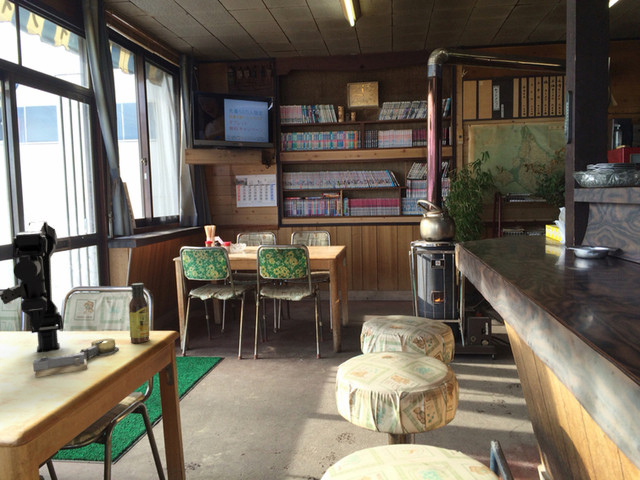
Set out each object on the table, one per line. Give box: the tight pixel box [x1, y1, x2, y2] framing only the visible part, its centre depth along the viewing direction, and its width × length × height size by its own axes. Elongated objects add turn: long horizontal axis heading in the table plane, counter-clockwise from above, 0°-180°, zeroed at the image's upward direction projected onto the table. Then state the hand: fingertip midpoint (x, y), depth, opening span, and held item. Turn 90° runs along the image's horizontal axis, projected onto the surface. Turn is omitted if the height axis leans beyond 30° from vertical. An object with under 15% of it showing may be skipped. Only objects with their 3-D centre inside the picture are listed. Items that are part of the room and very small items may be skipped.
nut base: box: [92, 346, 120, 357], centre depth 160 cm, size 9×9×1 cm
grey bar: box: [32, 352, 84, 373], centre depth 143 cm, size 13×4×3 cm, turn 117°
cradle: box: [34, 358, 88, 378], centre depth 143 cm, size 13×6×3 cm, turn 117°
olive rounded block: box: [79, 338, 116, 360], centre depth 157 cm, size 14×7×3 cm, turn 169°
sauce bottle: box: [128, 282, 150, 344], centre depth 170 cm, size 6×6×20 cm
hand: (36, 327), depth 146 cm, fingers open, 9 cm apart
